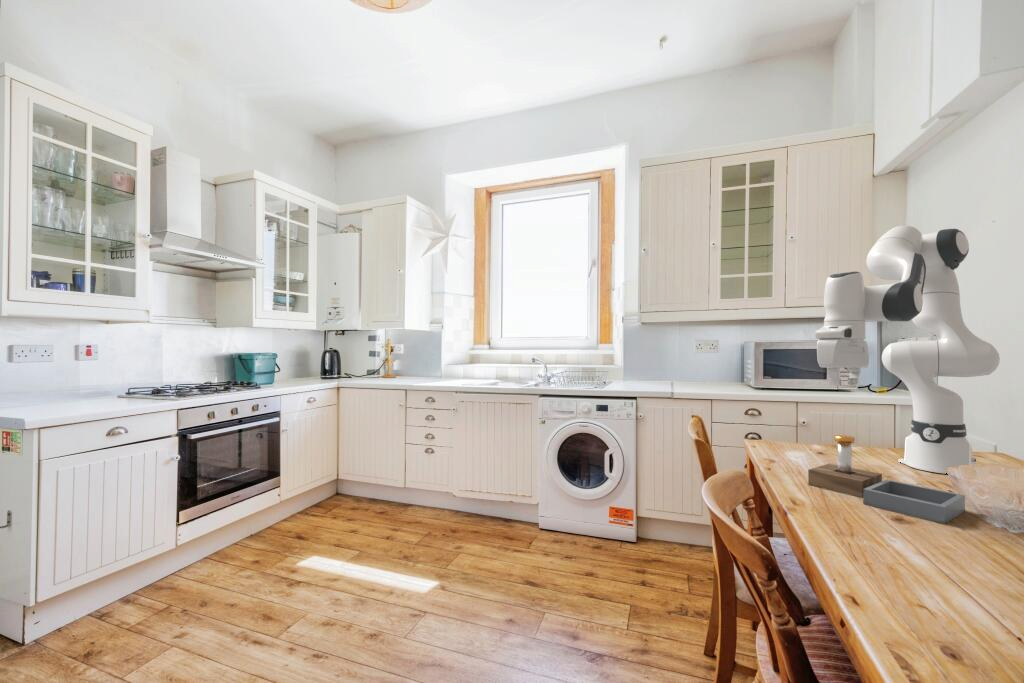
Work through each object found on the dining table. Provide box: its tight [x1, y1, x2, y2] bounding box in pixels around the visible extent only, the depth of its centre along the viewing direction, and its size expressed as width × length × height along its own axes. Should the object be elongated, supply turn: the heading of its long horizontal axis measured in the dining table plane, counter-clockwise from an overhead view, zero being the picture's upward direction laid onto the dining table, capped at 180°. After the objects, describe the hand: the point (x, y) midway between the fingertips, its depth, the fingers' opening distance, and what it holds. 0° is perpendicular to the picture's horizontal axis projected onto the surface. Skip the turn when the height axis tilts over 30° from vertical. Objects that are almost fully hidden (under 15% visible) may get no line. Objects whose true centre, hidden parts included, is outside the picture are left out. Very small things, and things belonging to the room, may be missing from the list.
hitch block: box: [807, 463, 883, 498], centre depth 117 cm, size 12×12×4 cm
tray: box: [863, 479, 966, 525], centre depth 102 cm, size 14×14×4 cm
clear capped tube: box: [833, 434, 856, 475], centre depth 117 cm, size 4×4×13 cm
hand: (844, 385), depth 117 cm, fingers open, 8 cm apart
